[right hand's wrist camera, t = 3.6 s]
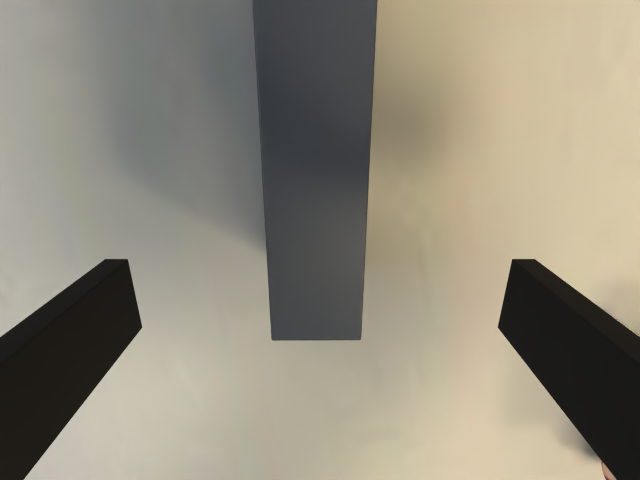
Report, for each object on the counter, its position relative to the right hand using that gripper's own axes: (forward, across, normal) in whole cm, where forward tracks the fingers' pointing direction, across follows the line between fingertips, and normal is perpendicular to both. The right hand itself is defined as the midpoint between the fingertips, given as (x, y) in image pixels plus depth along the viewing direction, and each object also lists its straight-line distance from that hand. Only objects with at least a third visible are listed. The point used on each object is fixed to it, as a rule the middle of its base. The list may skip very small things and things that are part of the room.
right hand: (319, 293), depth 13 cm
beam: (+13, 0, -22) cm, 25 cm away
